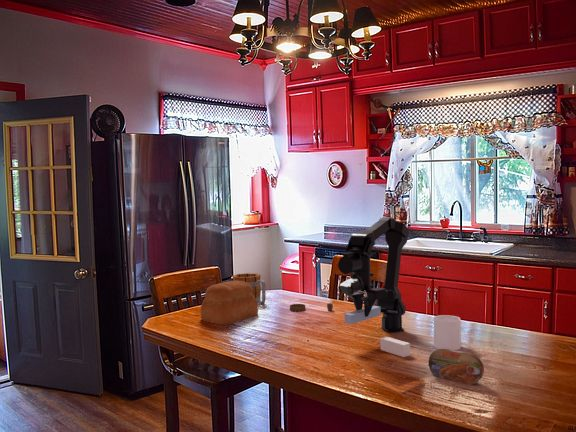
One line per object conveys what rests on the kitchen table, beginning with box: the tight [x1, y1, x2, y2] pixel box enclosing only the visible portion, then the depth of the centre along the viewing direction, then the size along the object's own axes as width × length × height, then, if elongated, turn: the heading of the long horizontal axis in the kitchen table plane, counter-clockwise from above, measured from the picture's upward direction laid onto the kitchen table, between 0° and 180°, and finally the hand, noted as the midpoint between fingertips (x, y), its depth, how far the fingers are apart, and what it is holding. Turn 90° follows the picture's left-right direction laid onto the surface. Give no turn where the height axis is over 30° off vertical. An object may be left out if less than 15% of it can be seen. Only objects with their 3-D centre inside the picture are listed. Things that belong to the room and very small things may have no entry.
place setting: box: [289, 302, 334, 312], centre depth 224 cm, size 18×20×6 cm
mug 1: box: [231, 272, 267, 305], centre depth 244 cm, size 20×14×15 cm
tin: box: [428, 349, 485, 386], centre depth 143 cm, size 15×3×8 cm, turn 51°
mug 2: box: [432, 314, 462, 351], centre depth 172 cm, size 9×12×11 cm
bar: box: [343, 305, 382, 325], centre depth 176 cm, size 16×3×3 cm, turn 134°
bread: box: [200, 280, 259, 326], centre depth 217 cm, size 18×22×17 cm
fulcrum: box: [380, 336, 411, 358], centre depth 166 cm, size 11×12×5 cm
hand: (362, 315), depth 176 cm, fingers closed on bar, 3 cm apart
